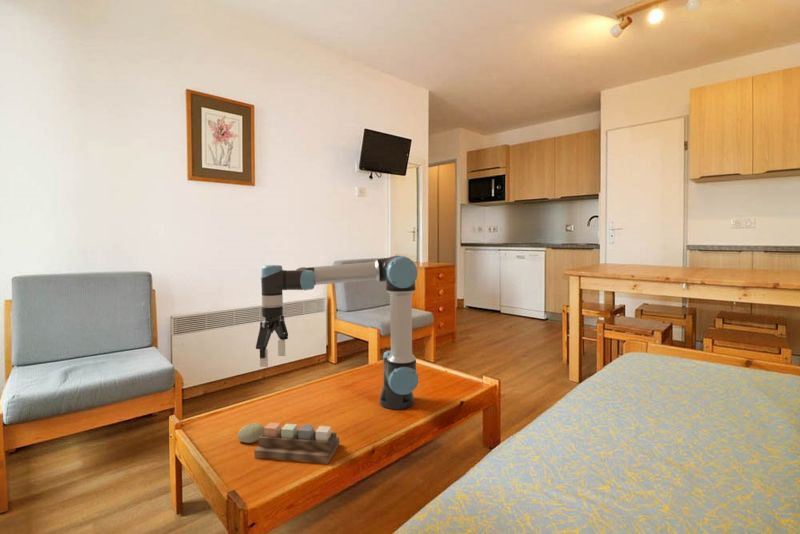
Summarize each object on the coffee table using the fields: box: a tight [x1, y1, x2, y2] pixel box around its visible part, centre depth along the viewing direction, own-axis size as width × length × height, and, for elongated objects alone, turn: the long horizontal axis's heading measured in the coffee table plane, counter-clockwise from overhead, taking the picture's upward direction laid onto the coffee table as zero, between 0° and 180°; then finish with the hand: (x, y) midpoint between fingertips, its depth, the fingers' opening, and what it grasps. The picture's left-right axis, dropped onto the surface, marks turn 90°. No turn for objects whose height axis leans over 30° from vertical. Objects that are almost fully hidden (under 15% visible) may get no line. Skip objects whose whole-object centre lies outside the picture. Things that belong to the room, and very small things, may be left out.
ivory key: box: [315, 425, 332, 441], centre depth 131 cm, size 4×4×4 cm
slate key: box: [297, 424, 315, 440], centre depth 132 cm, size 4×4×4 cm
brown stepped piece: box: [253, 429, 340, 465], centre depth 132 cm, size 25×12×6 cm, turn 82°
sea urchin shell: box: [237, 422, 265, 444], centre depth 141 cm, size 9×8×8 cm
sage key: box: [281, 423, 298, 439], centre depth 133 cm, size 4×4×4 cm
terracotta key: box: [264, 422, 282, 438], centre depth 133 cm, size 4×4×4 cm
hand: (273, 361), depth 150 cm, fingers open, 13 cm apart
